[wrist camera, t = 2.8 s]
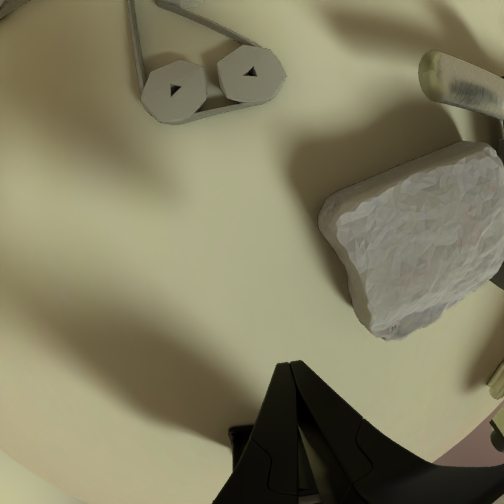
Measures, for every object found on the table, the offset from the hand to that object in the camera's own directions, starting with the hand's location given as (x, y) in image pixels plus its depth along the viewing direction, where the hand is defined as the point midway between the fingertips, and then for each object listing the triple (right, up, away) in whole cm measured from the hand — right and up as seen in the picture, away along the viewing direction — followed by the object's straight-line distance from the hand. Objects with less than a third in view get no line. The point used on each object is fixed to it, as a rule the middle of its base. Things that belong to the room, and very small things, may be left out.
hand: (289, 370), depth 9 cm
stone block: (+9, +5, +6) cm, 12 cm away
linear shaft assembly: (+18, +14, +3) cm, 23 cm away
